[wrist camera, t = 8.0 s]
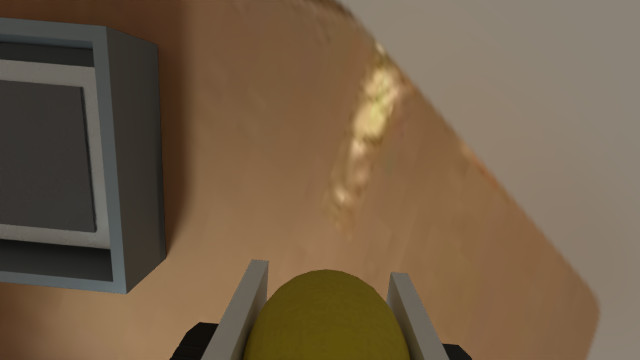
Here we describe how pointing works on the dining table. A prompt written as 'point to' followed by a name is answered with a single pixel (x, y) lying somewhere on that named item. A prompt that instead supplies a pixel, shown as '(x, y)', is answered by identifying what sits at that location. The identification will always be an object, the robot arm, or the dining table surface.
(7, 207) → the gray picture frame
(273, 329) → the lemon
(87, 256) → the gray open box
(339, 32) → the dining table surface
